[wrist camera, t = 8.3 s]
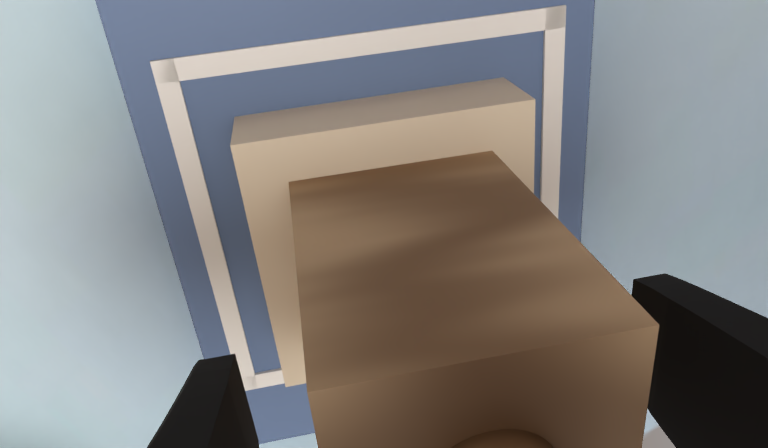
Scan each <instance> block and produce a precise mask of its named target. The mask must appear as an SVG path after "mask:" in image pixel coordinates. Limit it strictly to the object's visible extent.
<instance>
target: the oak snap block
mask: <svg viewBox="0 0 768 448" xmlns="http://www.w3.org/2000/svg"><path fill="white" fill-rule="evenodd" d="M289 193H290V204H291V215H292V227H293V238H294V249H295V261H296V272H297V283H298V295H299V306H300V317H301V329H302V340H303V351H304V363H305V374H306V385H307V394H308V399H309V404H310V409H311V414H312V419H313V424H314V429H315V434H316V439H317V444H318V448H642V441H643V434H644V427H645V421H646V414H647V407H648V400H649V393H650V386H651V379H652V372H653V365H654V358H655V352H656V345H657V338H658V331H659V324H658V323H657V322H656V321H655V320H654V319H653V318H652V317H651V316H650V314H649V313H648V312H647V311H646V310H645V309H644V308H643V307H642V306H641V305H640V304H639V303H638V302H637V301H636V300H635V299H634V298H633V297H632V296H631V295H630V294H629V293H628V292H627V290H626V289H625V288H624V287H623V286H622V285H621V284H620V283H619V282H618V281H617V280H616V279H615V278H614V277H613V276H612V275H611V274H610V273H609V272H608V271H607V270H606V269H605V268H604V266H603V265H602V264H601V263H600V262H599V261H598V260H597V259H596V258H595V257H594V256H593V255H592V254H591V253H590V252H589V251H588V250H587V249H586V248H585V247H584V246H583V245H582V244H581V242H580V241H579V240H578V239H577V238H576V237H575V236H574V235H573V234H572V233H571V232H570V231H569V230H568V229H567V228H566V227H565V226H564V225H563V224H562V223H561V222H560V221H559V220H558V218H557V217H556V216H555V215H554V214H553V213H552V212H551V211H550V210H549V209H548V208H547V207H546V206H545V205H544V204H543V203H542V202H541V201H540V200H539V199H538V198H537V197H536V196H535V195H534V193H533V192H532V191H531V190H530V189H529V188H528V187H527V186H526V185H525V184H524V183H523V182H522V181H521V180H520V179H519V178H518V177H517V176H516V175H515V174H514V173H513V172H512V171H511V169H510V168H509V167H508V166H507V165H506V164H505V163H504V162H503V161H502V160H501V159H500V158H499V157H498V156H497V155H496V154H495V153H494V152H493V151H486V152H479V153H473V154H466V155H460V156H453V157H447V158H440V159H434V160H427V161H421V162H414V163H408V164H401V165H395V166H388V167H382V168H375V169H369V170H362V171H356V172H349V173H343V174H336V175H330V176H323V177H317V178H310V179H304V180H297V181H291V182H289Z"/></svg>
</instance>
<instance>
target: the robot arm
mask: <svg viewBox="0 0 768 448" xmlns="http://www.w3.org/2000/svg"><path fill="white" fill-rule="evenodd" d="M632 297H633V298H634V299H635V300H636V301H637V302H638V303H639V304H640V305H641V306H642V307H643V308H644V309H645V310H646V311H647V312H648V313H649V314H650V316H651V317H652V318H653V319H654V320H655V321H656V322H657V323H658V324H659V331H658V338H657V345H656V352H655V358H654V365H653V372H652V379H651V386H650V393H649V400H648V407H647V408H648V410H649V411H650V413H651V415H652V416H653V417H654V419H655V420H656V421H657V423H658V424H659V426H660V427H661V428H662V430H663V431H664V432H665V434H666V435H667V436H668V438H669V439H670V440H671V442H672V443H673V444H674V445H675V447H676V448H768V318H766V317H764V316H762V315H759V314H757V313H755V312H753V311H751V310H748V309H746V308H744V307H742V306H740V305H737V304H735V303H733V302H731V301H729V300H726V299H724V298H722V297H720V296H718V295H715V294H713V293H711V292H709V291H706V290H704V289H702V288H700V287H697V286H695V285H693V284H690V283H688V282H686V281H683V280H681V279H678V278H676V277H673V276H670V275H668V274H660V275H654V276H649V277H644V278H638V279H634V280H633V290H632ZM147 448H259V440H258V436H257V433H256V429H255V425H254V422H253V418H252V414H251V411H250V407H249V403H248V400H247V396H246V392H245V389H244V385H243V381H242V378H241V374H240V370H239V367H238V363H237V359H236V355H235V354H230V355H224V356H219V357H214V358H208V359H203V360H199V361H198V362H197V363H196V364H195V366H194V367H193V369H192V371H191V373H190V374H189V376H188V378H187V380H186V382H185V384H184V385H183V387H182V389H181V391H180V393H179V394H178V396H177V398H176V400H175V402H174V403H173V405H172V407H171V409H170V410H169V412H168V414H167V415H166V417H165V419H164V421H163V422H162V424H161V426H160V427H159V429H158V431H157V432H156V434H155V435H154V437H153V439H152V440H151V442H150V444H149V445H148V447H147Z"/></svg>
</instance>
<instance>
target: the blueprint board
mask: <svg viewBox="0 0 768 448" xmlns="http://www.w3.org/2000/svg"><path fill="white" fill-rule="evenodd" d="M95 1H96V4H97V8H98V11H99V14H100V17H101V21H102V24H103V27H104V31H105V34H106V37H107V40H108V44H109V47H110V50H111V54H112V57H113V60H114V64H115V67H116V70H117V73H118V77H119V80H120V83H121V87H122V90H123V93H124V97H125V100H126V103H127V106H128V110H129V113H130V116H131V120H132V123H133V126H134V129H135V133H136V136H137V139H138V143H139V146H140V149H141V153H142V156H143V159H144V162H145V166H146V169H147V172H148V176H149V179H150V182H151V186H152V189H153V192H154V195H155V199H156V202H157V205H158V209H159V212H160V215H161V219H162V222H163V225H164V228H165V232H166V235H167V238H168V242H169V245H170V248H171V251H172V255H173V258H174V261H175V265H176V268H177V271H178V275H179V278H180V281H181V284H182V288H183V291H184V294H185V298H186V301H187V304H188V308H189V311H190V314H191V317H192V321H193V324H194V327H195V331H196V334H197V337H198V340H199V344H200V347H201V350H202V354H203V357H204V359H208V358H214V357H219V356H224V355H230V354H235V355H236V359H237V363H238V367H239V370H240V374H241V378H242V381H243V385H244V389H245V392H246V396H247V400H248V403H249V407H250V411H251V414H252V418H253V422H254V425H255V429H256V433H257V436H258V440H259V444H262V443H267V442H272V441H276V440H281V439H286V438H291V437H296V436H301V435H306V434H311V433H315V429H314V424H313V419H312V414H311V409H310V404H309V399H308V394H307V385H306V374H305V363H304V351H303V340H302V329H301V317H300V306H299V295H298V283H297V272H296V261H295V249H294V238H293V227H292V215H291V204H290V193H289V182H291V181H297V180H304V179H310V178H317V177H323V176H330V175H336V174H343V173H349V172H356V171H362V170H369V169H375V168H382V167H388V166H395V165H401V164H408V163H414V162H421V161H427V160H434V159H440V158H447V157H453V156H460V155H466V154H473V153H479V152H486V151H493V152H494V153H495V154H496V155H497V156H498V157H499V158H500V159H501V160H502V161H503V162H504V163H505V164H506V165H507V166H508V167H509V168H510V169H511V171H512V172H513V173H514V174H515V175H516V176H517V177H518V178H519V179H520V180H521V181H522V182H523V183H524V184H525V185H526V186H527V187H528V188H529V189H530V190H531V191H532V192H533V193H534V195H535V196H536V197H537V198H538V199H539V200H540V201H541V202H542V203H543V204H544V205H545V206H546V207H547V208H548V209H549V210H550V211H551V212H552V213H553V214H554V215H555V216H556V217H557V218H558V220H559V221H560V222H561V223H562V224H563V225H564V226H565V227H566V228H567V229H568V230H569V231H570V232H571V233H572V234H573V235H574V236H575V237H576V238H577V239H578V240H579V241H580V242H581V225H582V208H583V191H584V174H585V157H586V140H587V123H588V106H589V89H590V72H591V55H592V38H593V21H594V4H595V0H95Z"/></svg>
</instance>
